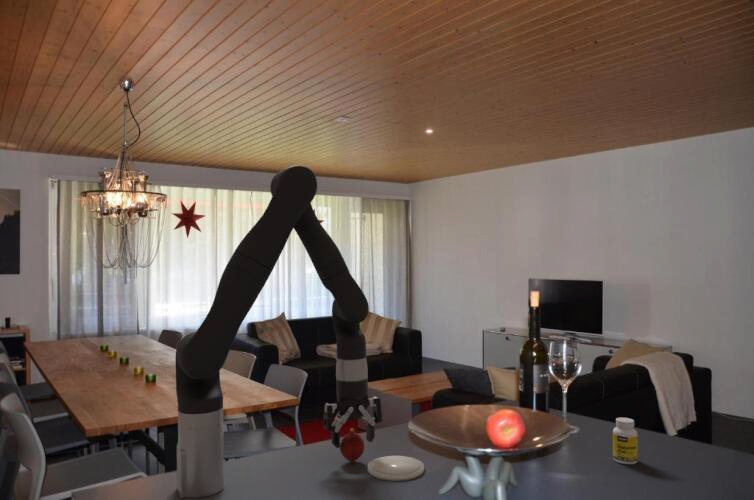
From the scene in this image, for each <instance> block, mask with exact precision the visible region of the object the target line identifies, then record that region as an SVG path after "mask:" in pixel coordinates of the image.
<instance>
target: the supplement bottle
mask: <svg viewBox="0 0 754 500" xmlns="http://www.w3.org/2000/svg"><path fill="white" fill-rule="evenodd" d="M615 425H616V426H615V427H614V428H613V430H612V458H613V460H614V461H615V462H616V463H620V464H622V465H635V464H637V462H638V458H639V457H638V449H639V448H638V446H639V445H638V437H639V436H638V431H637V430H636V429H635V420H634V419H632V418H629V417H616V418H615Z"/></svg>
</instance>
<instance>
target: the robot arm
mask: <svg viewBox="0 0 754 500" xmlns="http://www.w3.org/2000/svg"><path fill="white" fill-rule="evenodd" d="M317 192H318V181H317V177H316V175H315V173H314V172H313V170H312V169H311V168H309V167H307V166H305V165H299V164H298V165H291V166H288V167H286V168H284V169H282V170H280V171H278V172H277V173H276V174H275V175H274V176H273V177H272V179H271V182H270V193H271V194H270V195H271V199H270V201H269V203H268V205H267V206H266V209H265V211H264V212H263V214H262V215H261V217H259V219H258V221H257V222H256V223H255V224H254V225H253V226H252V227H251V229H250V230H249V231H248V232H247V233H246V235H245V236H244V237H243V238H242V240H241V241H240V242H239V244H238V245H237V247H236V248H235V250H234V252H233V253H232V256H231V257H230V259H229V260H228V263H227V264H226V266H225V268H224V269H223V272H222V273H221V274H222V275H221V276H220V279H219V283H218V285H217V288H216V292H215V295H214V299H213V301H212V304H211V307H210V310H209V311H208V313H207V315H206V316H205V318H204V319H203V321H202V323H201V324H200V325H199V327H198V329H197V330H196V331H193V332H189V333H187V334H186V335H185V336H184V337H182V339H181V340H180V341H179V343H178V344H177V346H176V349H175V390H176V391H175V393H176V398H177V433H178V434H177V436H178V437H177V440H178V441H177V443H176V488H177V491H178V493H179V497H180V498H181V499H184V498H195V499H196V498H205V497H208V496H209V497H210V496H213V495H215V494H217V493H219V492H221V491H222V490H223V489H224V488H225V487H224V486H225V484H224V483H225V480H224V479H225V474H224V473H225V472H224V470H225V469H224V468H225V466H224V465H225V464H224V395H223V392H222V386H221V378H220V377H221V376H220V375H221V373H220V370H221V369H222V368H223V366H224V365H225V364H226V360H227V359H228V358H227V357H228V356H229V353H230V350H231V348H232V345H233V343H234V342H235V338H236V336H237V335H238V331H239V329H240V328H241V325H242V323H243V321H244V320H245V319H246V317H247V316H248V314H249V312H250V311H251V309H252V307H253V306H254V303H255V302H256V300H257V299H258V297H259V295H260V293H261V292H262V290H263V288H264V287H265V285H266V283H267V281H268V280H269V277H270V275H271V274H272V272H273V270H274V268H275V266H276V264H277V262H278V260H279V258H280V256H281V255H282V252H283V250H284V249H285V246H286V244H287V242H288V240H289V237H290V235H291V233H292V232H293V229H294V231H295V232H296V235H297V236H298V238H299V239H300V241H301V243H302V245H303V247H304V248H305V250H306V252H307V255H308V256H309V258H310V259H309V260H310V261H311V262H312V265H313V267H314V269H315V272H316V274H317V276H318V277H319V280H320V282H321V283H322V284H321V285H323V287H324V288H325V289H326V290H328V291H329V292H330V293H331V296H332V297H333V302H332V306H331V318H332V323H333V328H334V333H335V337H336V338H335V339H336V365H335V377H336V379H335V380H336V402H335V403H328V402H325V403H324V404H323V423H322V424H323V428H324V429H325V430H327V431H328V432H331V434H330V435H331V444H332V446H334V448H336V449H338V448H339V449H340V444H341V437H340V434H341V433H340V429H341V428H342V427H343V425H345V424H346V422H347V421H352V420H359V419H360V420H361V418H362V419H363V420H364V421H365V422H366V423H367V424H366V425H365V426H366V427H365V431H366V432H365V433H366V435H365V436H366V441H368V443H373V442H374V439H375V436H376V435H375V432H376V431H375V426H376V425H377V424H380V423H382V422H383V416H382V413H383V412H382V403H381V398H380V397H378V396H375V395H373V396H372V397H368V396H369V382H368V381H369V380H368V378H369V377H368V375H369V373H368V372H369V371H368V362H367V361H368V360H367V344H366V343H367V341H366V336H365V335H364V333H363V332H362V330H361V324H360V323H362V322H364V321H365V320H366V319H367V317H368V315H369V313H370V307H369V302H368V299H367V297H366V295H365V294H364V291H363V290H362V289H361V287H360V285H359V284H358V282H357V281H356V280H355V279H354V277H353V276H352V274H351V273H350V270H349V268H348V265H347V264H346V261H345V259H344V257H343V255H342V253H341V251H340V249H339V248H338V246H337V244H336V243H335V241H334V239H333V238H332V237H331V236H330V235H329V233H328V232H327V231H326V229H325V228H324V226H323V225H322V224H321V222H320V221H319V218H318V217H317V215H316V213H315V211H314V208H313V205H312V201H313V200H314V198H315V196H316V195H317ZM369 406H371V407H372V416H371V415H370V413H369V412H368V411H367V409H368V408H369ZM335 410H337V413H336V416H335V417H334V421H333V414H334V413H335Z"/></svg>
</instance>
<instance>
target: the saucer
mask: <svg viewBox="0 0 754 500" xmlns="http://www.w3.org/2000/svg"><path fill="white" fill-rule="evenodd" d="M367 472H368V474H369V475H370V476H371V477H374V478H376V479H380V480H383V481H392V482H393V481H394V482H399V481H408V480H412V479H417V478H418V477H420V476H422V475H423V474H424V473H425V465H424V463H423V462H422V460H420V459H417V458H415V457H410V456H405V455H387V456H382V457H377V458H375V459H372V460H371V461H369V462H368V464H367Z"/></svg>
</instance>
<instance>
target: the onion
mask: <svg viewBox="0 0 754 500" xmlns="http://www.w3.org/2000/svg"><path fill="white" fill-rule="evenodd" d="M339 450H340V453H341V455H342V456H343V457H344V459H346V460H347V461H349V462H350V463H355V462H356V461H357V460H358V459H360V458H361V456H362V455H363V454H364V451H365V442H364V439H363V437H362V436H361V435H360V434H358V433H357V432H356V431H355V428H353V427H352V428H350V429H349V431H348V433H346V434H345V435H344V436H343V437H342V439H341V440H340V448H339Z"/></svg>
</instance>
